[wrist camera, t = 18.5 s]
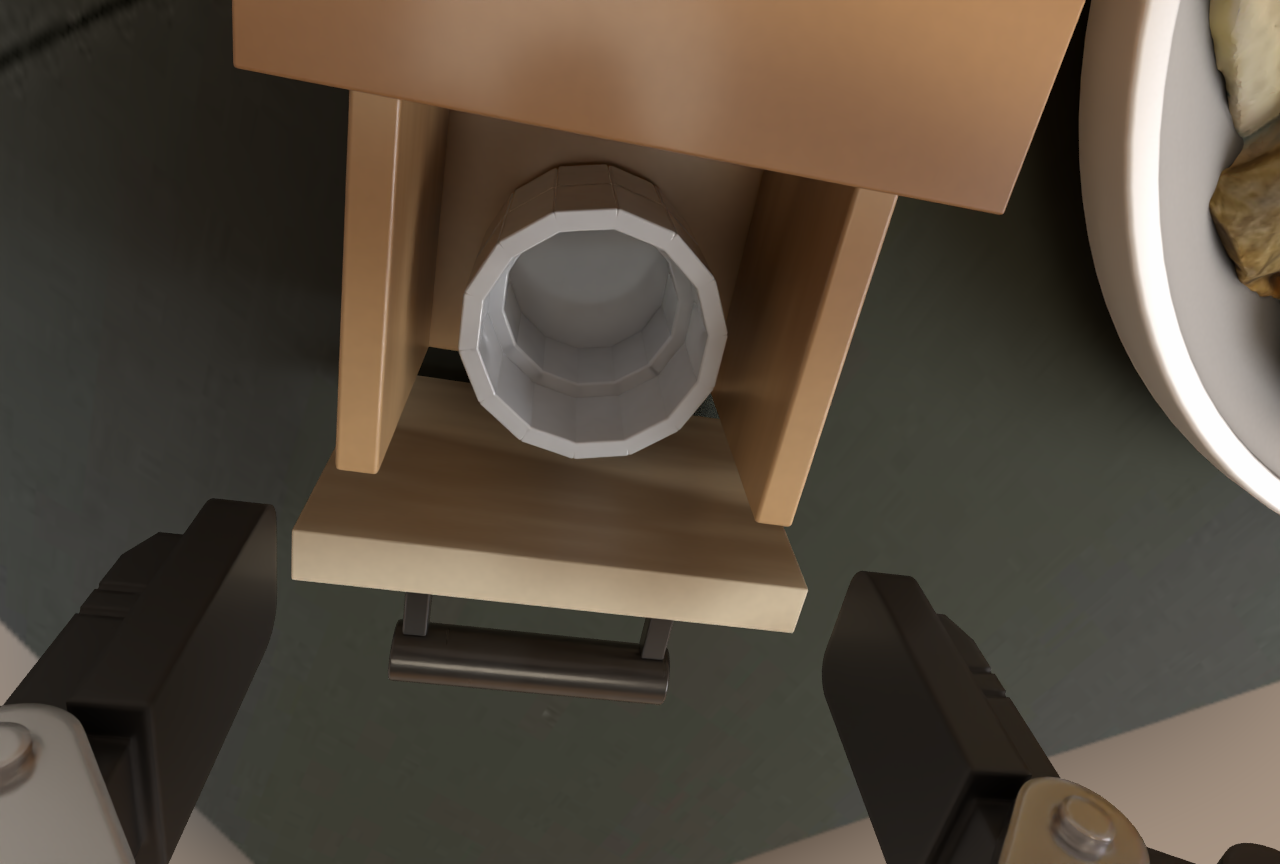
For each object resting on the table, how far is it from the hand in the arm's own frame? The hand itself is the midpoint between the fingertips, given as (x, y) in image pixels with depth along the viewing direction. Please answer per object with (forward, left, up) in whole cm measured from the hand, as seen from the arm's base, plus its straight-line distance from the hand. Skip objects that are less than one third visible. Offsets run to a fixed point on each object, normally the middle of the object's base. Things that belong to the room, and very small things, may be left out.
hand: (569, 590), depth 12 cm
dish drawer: (0, 0, -12) cm, 12 cm away
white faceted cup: (0, +1, -11) cm, 11 cm away
